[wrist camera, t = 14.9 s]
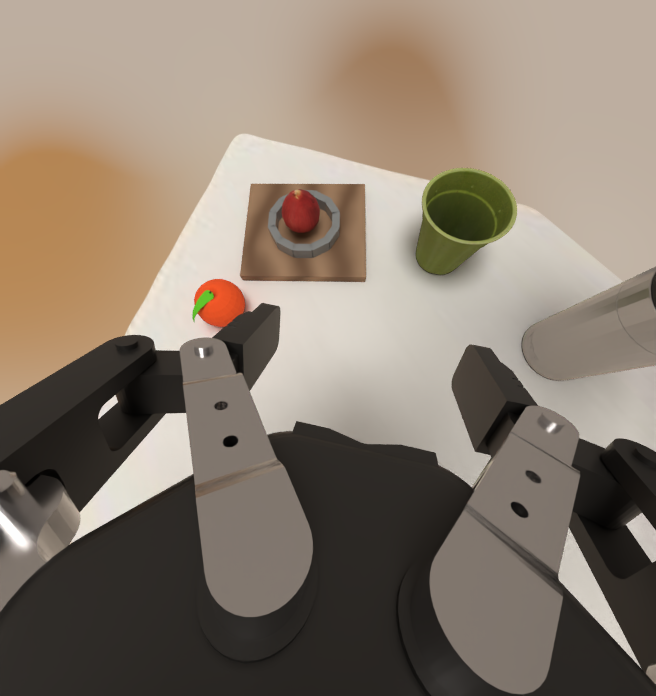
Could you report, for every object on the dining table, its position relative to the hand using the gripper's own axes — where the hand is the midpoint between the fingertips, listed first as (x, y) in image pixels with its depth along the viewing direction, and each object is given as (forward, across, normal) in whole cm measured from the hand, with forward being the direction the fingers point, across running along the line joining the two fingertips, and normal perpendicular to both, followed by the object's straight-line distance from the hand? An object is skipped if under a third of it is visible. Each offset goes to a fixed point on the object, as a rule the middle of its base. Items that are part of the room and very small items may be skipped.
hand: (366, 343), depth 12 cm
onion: (+38, +12, +1) cm, 39 cm away
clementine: (+27, +21, +14) cm, 37 cm away
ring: (+38, +12, +1) cm, 39 cm away
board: (+39, +12, +2) cm, 41 cm away
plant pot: (+39, -11, +2) cm, 40 cm away
